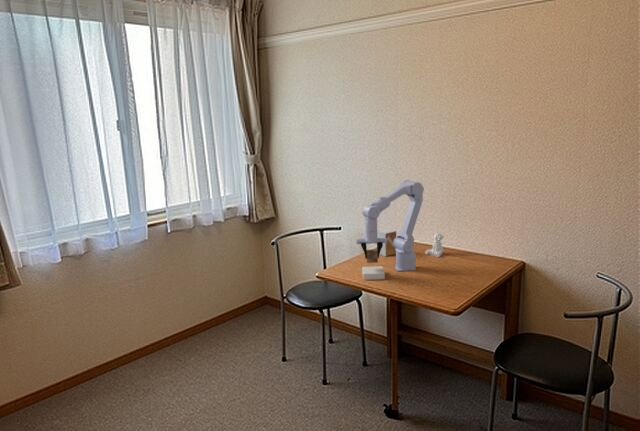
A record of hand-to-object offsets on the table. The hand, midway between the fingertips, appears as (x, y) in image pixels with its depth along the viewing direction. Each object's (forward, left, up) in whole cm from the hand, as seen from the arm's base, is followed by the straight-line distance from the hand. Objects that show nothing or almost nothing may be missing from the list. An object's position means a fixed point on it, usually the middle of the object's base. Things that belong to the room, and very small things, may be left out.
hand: (372, 257), depth 225 cm
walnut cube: (0, 0, -2) cm, 2 cm away
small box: (-11, -33, -9) cm, 36 cm away
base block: (0, +1, -9) cm, 9 cm away
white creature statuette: (-37, -29, -9) cm, 48 cm away
